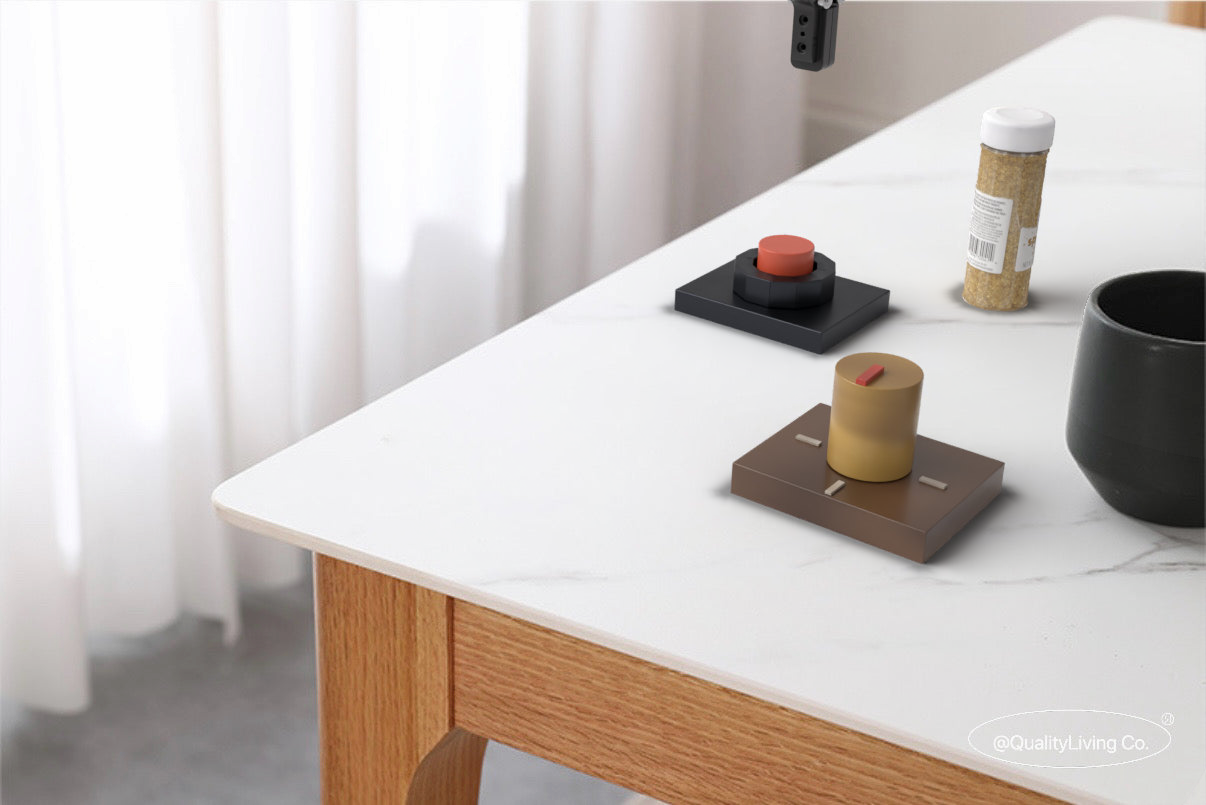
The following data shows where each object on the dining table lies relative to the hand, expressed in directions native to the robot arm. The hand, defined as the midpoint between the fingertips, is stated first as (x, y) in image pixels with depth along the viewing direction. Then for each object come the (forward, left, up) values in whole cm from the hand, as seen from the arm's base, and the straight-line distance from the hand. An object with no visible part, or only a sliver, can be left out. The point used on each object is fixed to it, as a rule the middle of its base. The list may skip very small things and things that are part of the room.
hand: (811, 67), depth 94 cm
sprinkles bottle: (-8, -12, -18) cm, 23 cm away
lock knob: (-14, +17, -15) cm, 26 cm away
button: (+2, -1, -14) cm, 14 cm away
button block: (+2, -1, -17) cm, 17 cm away
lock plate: (-14, +17, -17) cm, 28 cm away
